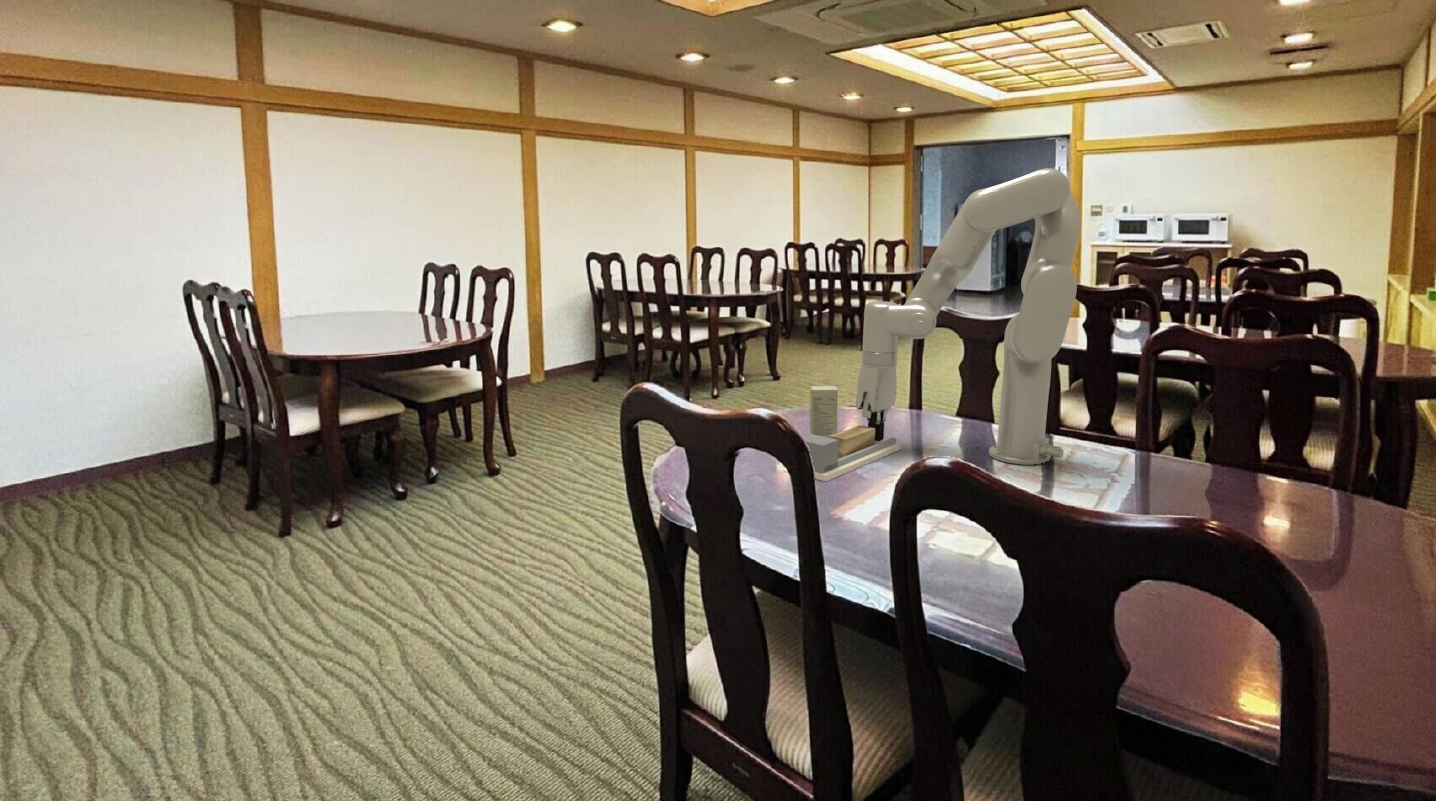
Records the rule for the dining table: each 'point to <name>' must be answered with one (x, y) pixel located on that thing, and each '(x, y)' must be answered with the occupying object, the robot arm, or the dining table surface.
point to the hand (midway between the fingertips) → (875, 439)
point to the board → (832, 467)
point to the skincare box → (823, 410)
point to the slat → (854, 440)
